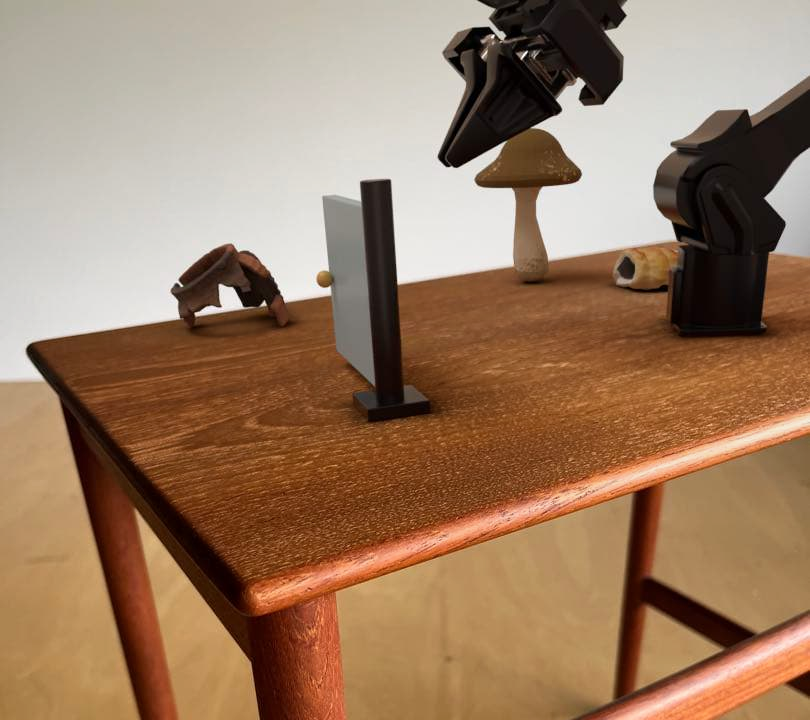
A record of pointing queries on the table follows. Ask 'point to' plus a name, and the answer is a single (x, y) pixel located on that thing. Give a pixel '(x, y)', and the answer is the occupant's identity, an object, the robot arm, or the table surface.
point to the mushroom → (529, 191)
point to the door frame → (384, 311)
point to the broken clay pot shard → (228, 284)
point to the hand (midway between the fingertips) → (446, 163)
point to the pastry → (644, 267)
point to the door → (348, 282)
